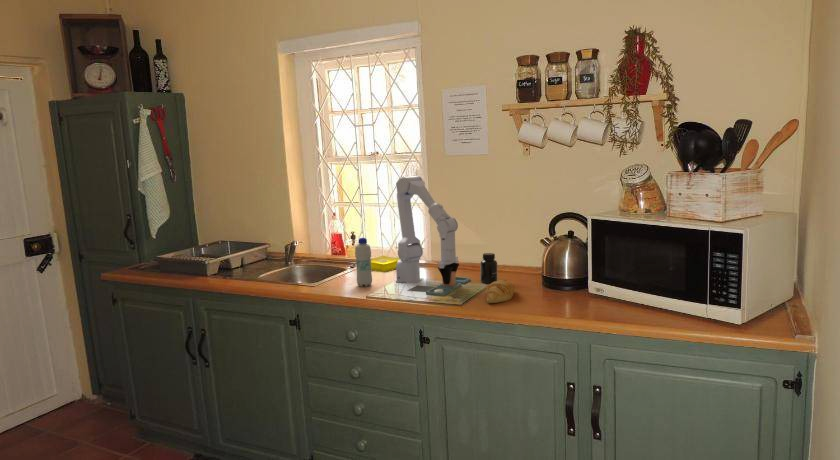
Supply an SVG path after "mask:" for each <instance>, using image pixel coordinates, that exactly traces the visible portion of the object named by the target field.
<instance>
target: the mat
mask: <svg viewBox="0 0 840 460" xmlns="http://www.w3.org/2000/svg"><path fill="white" fill-rule="evenodd" d="M432 288H437V286H431V285H430V286H428V285H414V286H413V287H411V288H409V289H407V292H419V293H426V292H427V291H429V290H430V289H432Z"/></svg>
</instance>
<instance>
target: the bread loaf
mask: <svg viewBox="0 0 840 460" xmlns="http://www.w3.org/2000/svg"><path fill="white" fill-rule="evenodd" d="M514 294H515V287H514V284H513V283H512V282H510V281H508V280H507V279H497V281H495V282H492V283H491V284H488V286H487V287H486V302H487V303H488V304H497V303H503V302H508V301H510V300H512V298H513V296H514Z"/></svg>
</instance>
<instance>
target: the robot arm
mask: <svg viewBox="0 0 840 460" xmlns="http://www.w3.org/2000/svg"><path fill="white" fill-rule="evenodd" d="M395 185H396V201H397V210H398V216H399V224H400V232H401V237H402V238H401V239H400V240H399V242H398V245H397V256H398V257H397V258H400V260H399V261H398V262H397V265H396V269H395V270H396V272H395V274H396V280H395V282H396V283H402V284H403V283H406V284H407V283H408V284H417V283H419V282H421V281H423V280H424V278H421V275H420V274H421V273H420V272H421V270H420V269H421V267H420V260H421V257H422V256H423V253H424V249H423V247H422V245H421V241H420V239H419V238H418V237H417V236H416V231H415V223H414V217H413V209H412V208H413V207H412V203H411V199H412V198H413V196H414V195H415V196H418V198H419V199H420V200H421V201H422V202H423V203H424V205H425V206H426V207H427V209H428V214H429V216H430V217H431V218H432V219H433V221H434V222H435V224H436V225H437V226H436V229H437V232H438V233H439V237H440V261H439V263H438V266H437V269H438V271H439V272H440V275H441V278H443V282H444V284H450V276H451V271H456V272H457V270H458V267H460V263H459V257H458V256H456V232H457V230H458V227H459V224H458V221H457V220H456V218H455V217H452V216H451V215H449V214H448V213H447V211H446V209H444V206H443V205H442V204H440V203H439V202H438V203H436V201H435V200H434V198H433V197H432V195H431V194H430V191H428V189H427V187H426V183H425V181H424V180H423V178H422V177H421V176H420V175H413V176H401V177H399V179H398V180H397V182H396V183H395Z"/></svg>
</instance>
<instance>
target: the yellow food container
mask: <svg viewBox="0 0 840 460" xmlns="http://www.w3.org/2000/svg"><path fill="white" fill-rule="evenodd" d="M399 260H400V258H399V257H396V256H388V255H381V256H378V257H377V256H376V257H373V258H371V271H375V272H380V273H381V272H383V273H384V272H385V273H386V272H390V271H394V270H396V265H397V262H398V261H399Z"/></svg>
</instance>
